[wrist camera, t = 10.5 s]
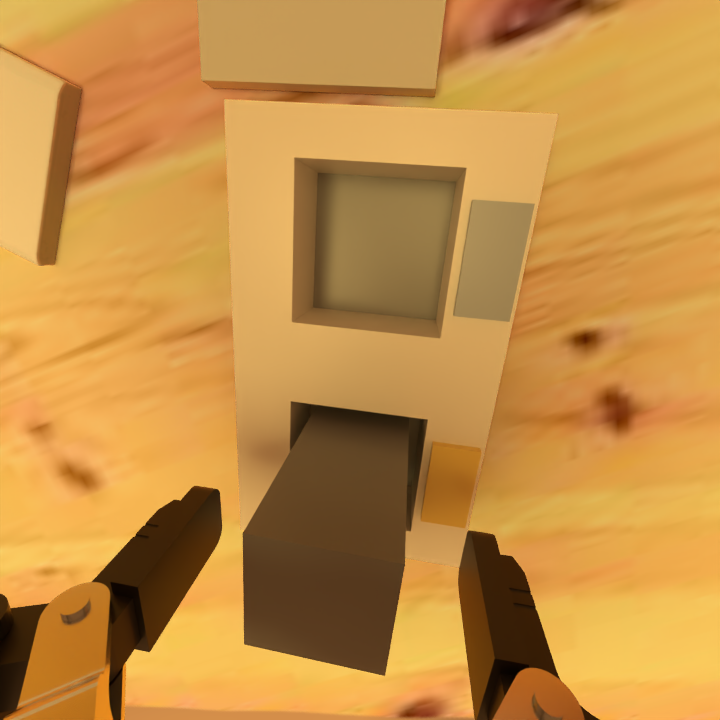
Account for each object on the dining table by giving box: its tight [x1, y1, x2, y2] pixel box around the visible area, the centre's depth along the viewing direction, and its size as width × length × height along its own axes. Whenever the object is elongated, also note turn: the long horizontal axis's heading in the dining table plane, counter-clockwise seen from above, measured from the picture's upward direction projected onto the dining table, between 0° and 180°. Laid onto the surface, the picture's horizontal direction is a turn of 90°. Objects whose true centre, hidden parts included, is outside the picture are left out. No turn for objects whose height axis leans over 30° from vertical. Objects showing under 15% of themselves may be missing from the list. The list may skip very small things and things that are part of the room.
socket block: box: [224, 99, 558, 568], centre depth 15 cm, size 17×10×4 cm, turn 176°
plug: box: [243, 405, 409, 676], centre depth 14 cm, size 4×4×9 cm
